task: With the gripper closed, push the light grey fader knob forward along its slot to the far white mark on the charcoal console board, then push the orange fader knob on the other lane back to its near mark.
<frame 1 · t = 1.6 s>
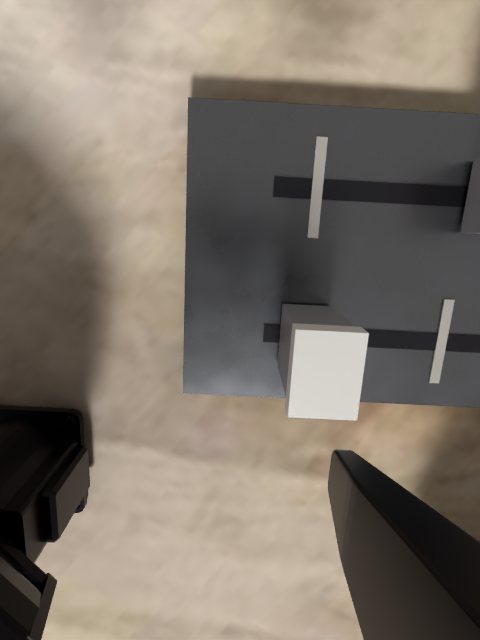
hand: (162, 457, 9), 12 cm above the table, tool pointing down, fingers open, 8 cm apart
console board: (363, 266, 19), on the table
fader a: (313, 353, 16), point 4 cm above the table, slide at 0.0 cm
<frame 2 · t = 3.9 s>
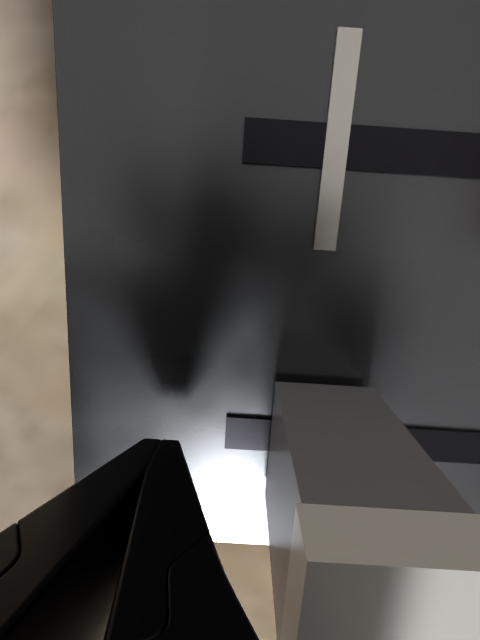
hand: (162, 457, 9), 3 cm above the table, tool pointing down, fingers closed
console board: (418, 303, 10), on the table
fader a: (343, 520, 7), point 4 cm above the table, slide at 0.4 cm, touching gripper
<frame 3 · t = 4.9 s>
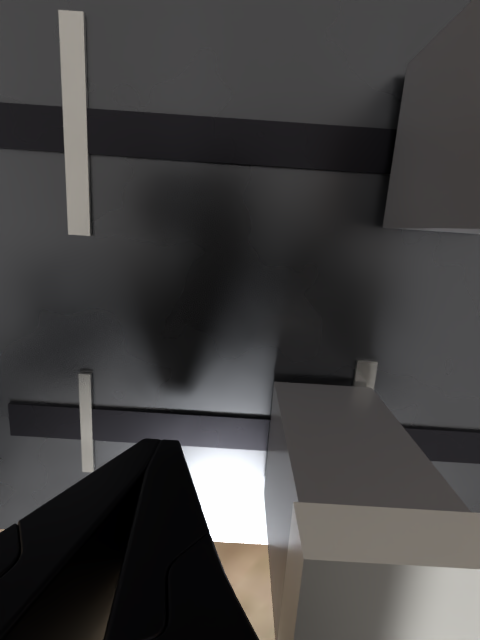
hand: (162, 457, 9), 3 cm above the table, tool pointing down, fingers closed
console board: (212, 290, 10), on the table
fader a: (341, 519, 7), point 4 cm above the table, slide at 5.9 cm, touching gripper
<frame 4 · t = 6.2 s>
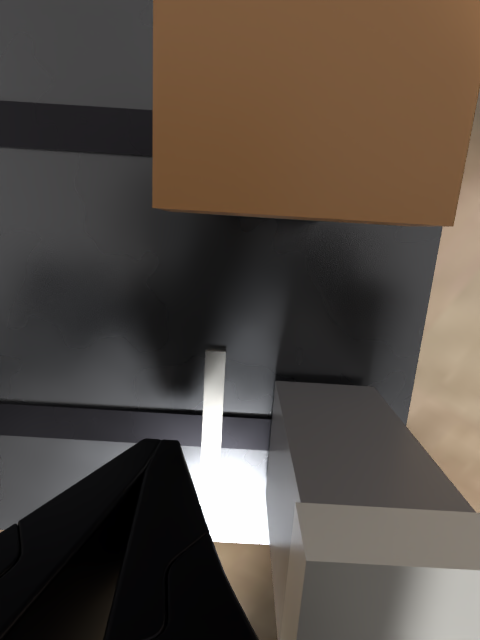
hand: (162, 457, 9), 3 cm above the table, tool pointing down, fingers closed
fader b: (287, 97, 5), point 4 cm above the table, slide at 8.0 cm
console board: (72, 280, 10), on the table
fader a: (343, 519, 7), point 4 cm above the table, slide at 9.7 cm, touching gripper
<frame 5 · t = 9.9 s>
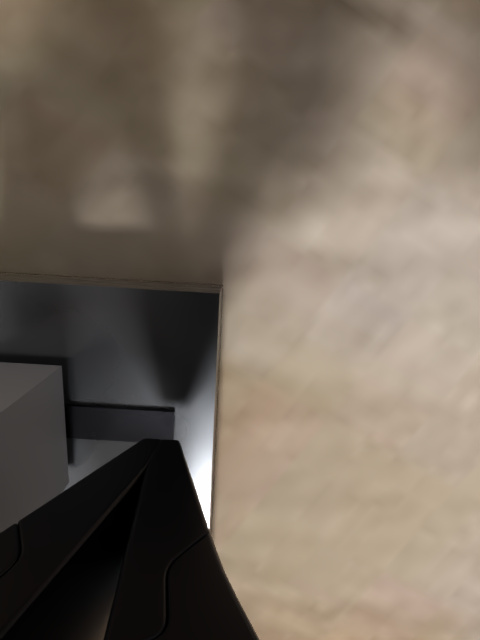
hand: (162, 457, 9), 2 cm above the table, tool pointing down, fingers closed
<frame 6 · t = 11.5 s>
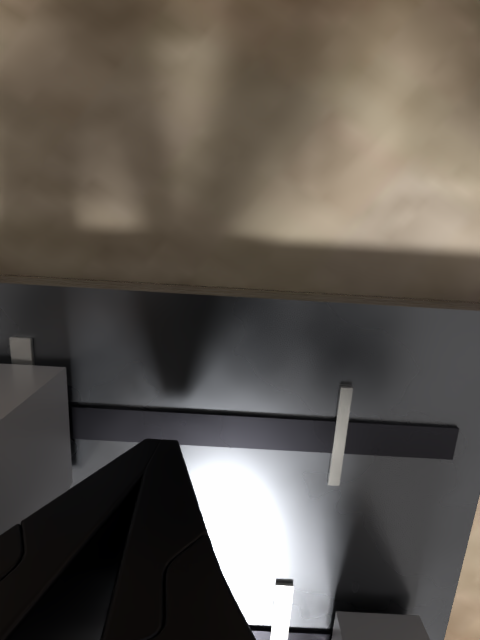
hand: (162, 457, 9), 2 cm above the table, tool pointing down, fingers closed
console board: (155, 506, 12), on the table
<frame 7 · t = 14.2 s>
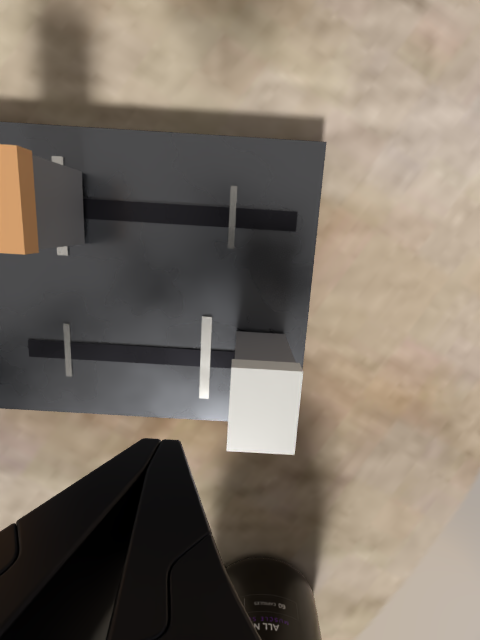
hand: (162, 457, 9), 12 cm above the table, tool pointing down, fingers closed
fader b: (25, 203, 15), point 4 cm above the table, slide at 0.0 cm
console board: (133, 282, 20), on the table
supplement bottle: (259, 592, 25), on the table
fader a: (260, 384, 17), point 4 cm above the table, slide at 9.7 cm
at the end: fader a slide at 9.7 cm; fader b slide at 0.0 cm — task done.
